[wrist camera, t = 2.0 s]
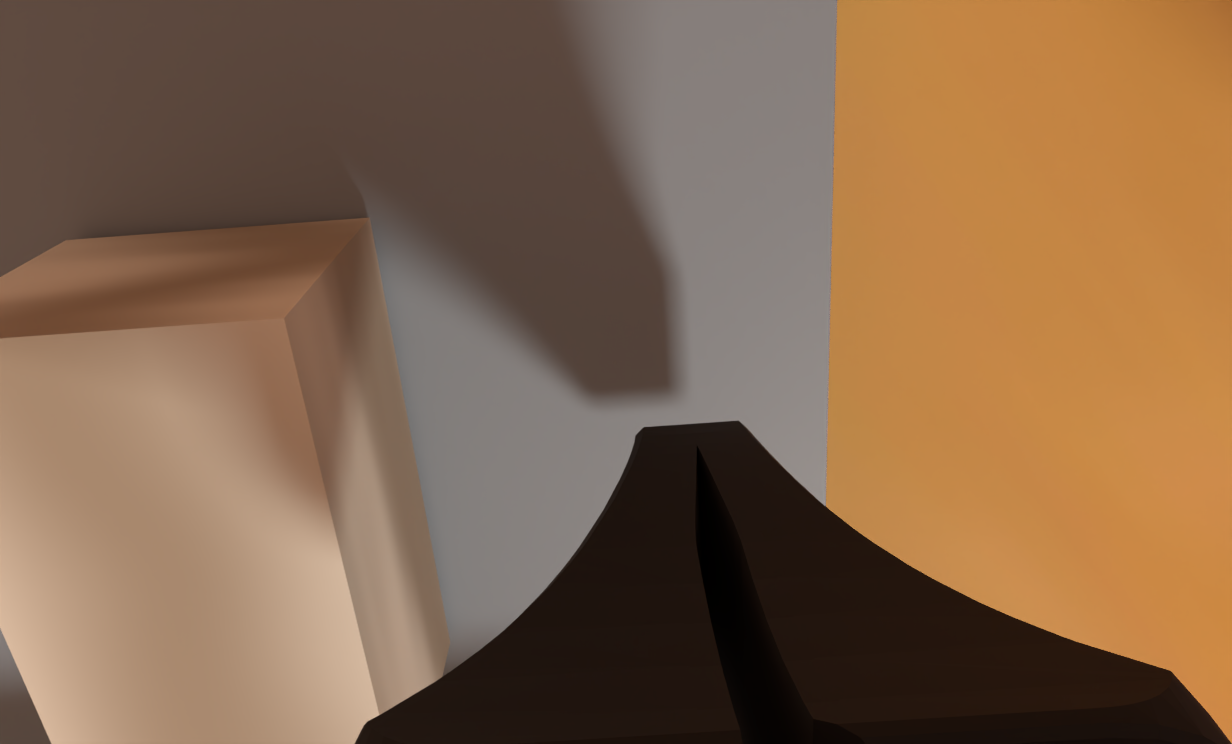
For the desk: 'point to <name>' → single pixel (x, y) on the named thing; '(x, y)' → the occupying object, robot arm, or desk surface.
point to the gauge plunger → (211, 490)
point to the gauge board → (476, 223)
